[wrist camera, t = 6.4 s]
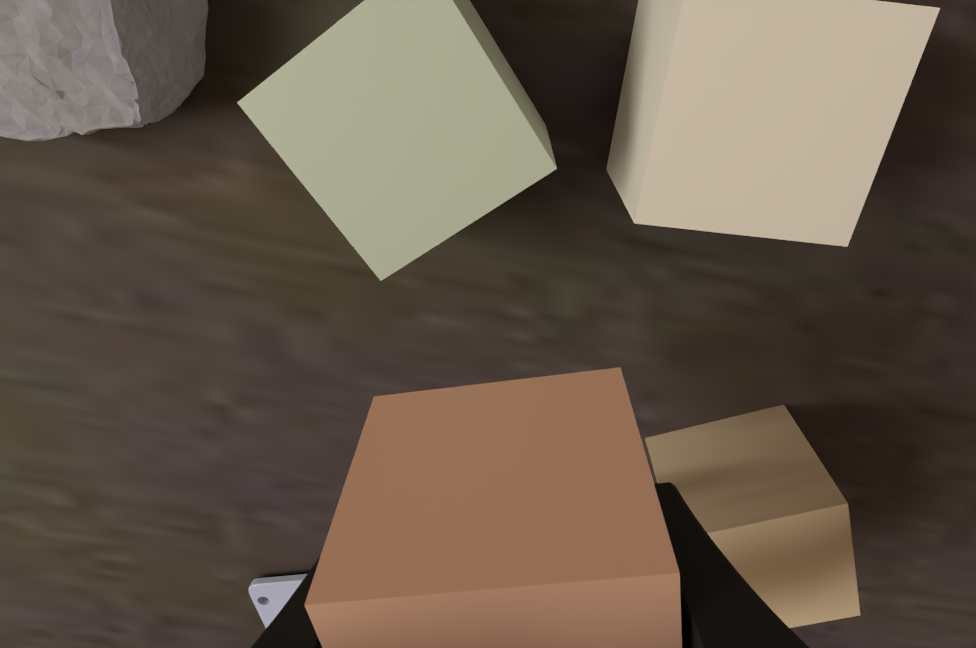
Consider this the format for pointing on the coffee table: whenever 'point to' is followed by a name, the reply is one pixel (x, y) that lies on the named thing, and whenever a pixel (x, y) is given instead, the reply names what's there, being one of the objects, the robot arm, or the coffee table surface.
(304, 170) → the sage cube
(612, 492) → the terracotta cube
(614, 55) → the coffee table surface
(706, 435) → the maple cube
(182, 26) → the stone block
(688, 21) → the cream cube
